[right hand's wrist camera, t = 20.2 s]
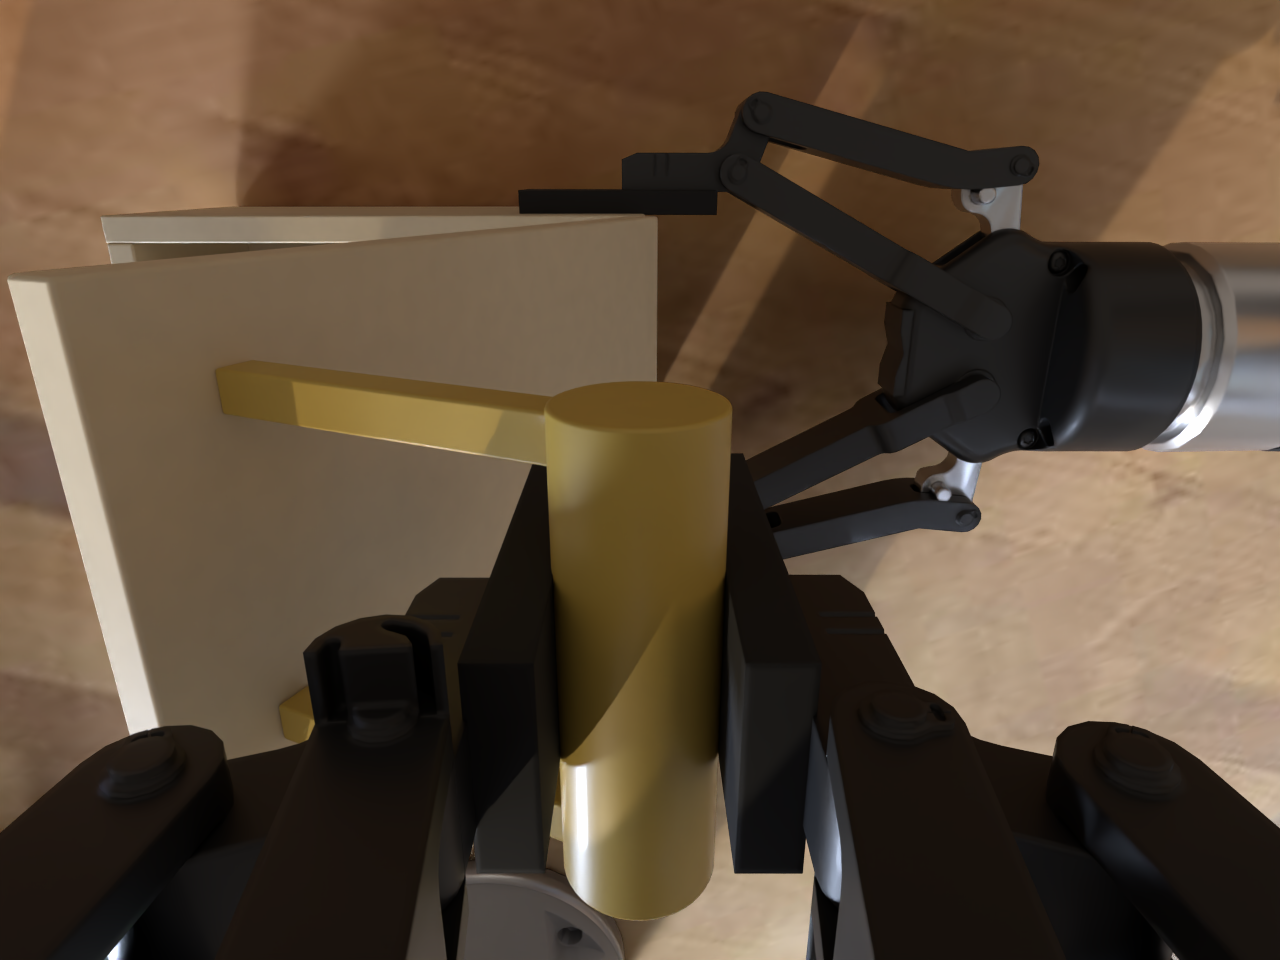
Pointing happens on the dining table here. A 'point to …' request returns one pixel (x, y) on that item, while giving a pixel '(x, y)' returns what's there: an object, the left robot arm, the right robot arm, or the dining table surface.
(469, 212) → the chest
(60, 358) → the lid
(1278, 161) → the dining table surface
